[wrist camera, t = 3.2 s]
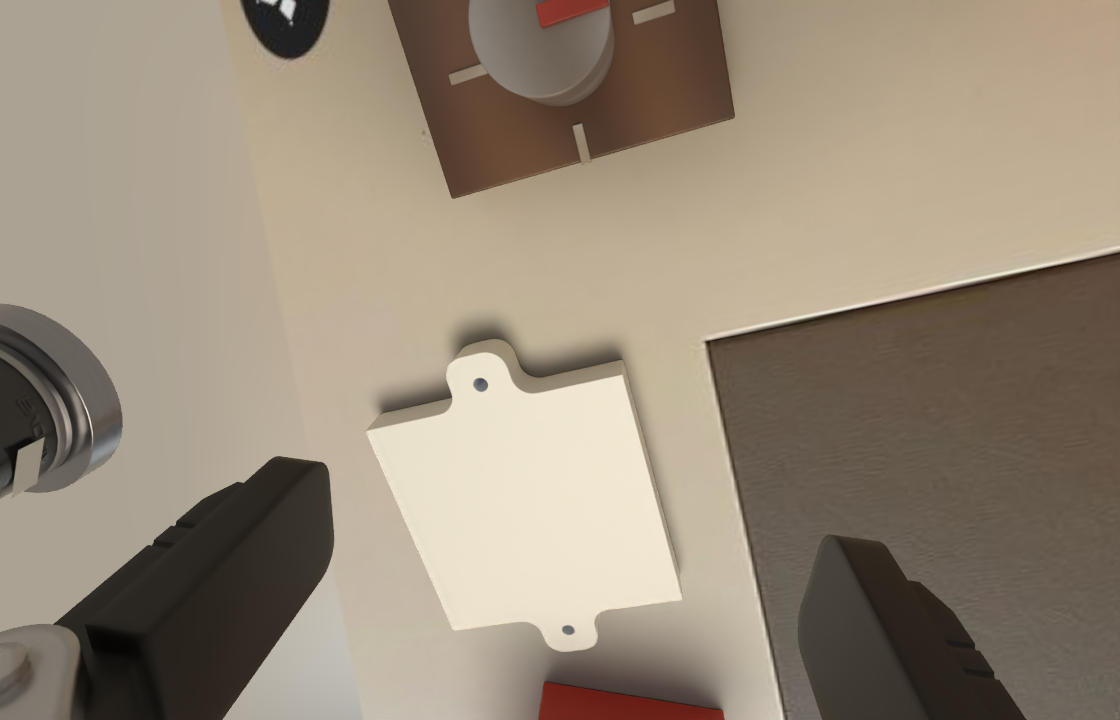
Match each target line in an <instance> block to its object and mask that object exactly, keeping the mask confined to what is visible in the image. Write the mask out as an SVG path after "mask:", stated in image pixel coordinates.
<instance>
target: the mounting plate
mask: <svg viewBox="0 0 1120 720" xmlns="http://www.w3.org/2000/svg"><path fill="white" fill-rule="evenodd" d="M446 378H447V382H448V385H449V388H450V390H451V394H452V398H449V399H444V400H440V401H436V402H431V403H427V404H422V405H418V406H413V407H409V408H404V409H400V410H396V411H391V412H387V413H382V414H380V416H379V417H378V418H377V419H376V420H375V421H374V422H373V423H372V424H371V425H370V426H369V428H368V429H367V430H366V434H367V436H368V438H369V440H370V443H371V445H372V447H373V450H374V452H375V454H376V456H377V459H378V461H379V463H380V465H381V468H382V470H383V472H384V474H385V477H386V479H387V481H388V484H389V486H390V488H391V490H392V493H393V495H394V497H395V499H396V502H397V504H398V506H399V508H400V511H401V513H402V515H403V518H404V520H405V522H406V524H407V527H408V529H409V531H410V533H411V536H412V538H413V540H414V542H415V545H416V547H417V549H418V551H419V554H420V556H421V558H422V561H423V563H424V565H425V567H426V570H427V572H428V574H429V576H430V579H431V581H432V583H433V585H434V588H435V590H436V592H437V595H438V597H439V599H440V601H441V604H442V606H443V608H444V610H445V613H446V615H447V617H448V619H449V622H450V624H451V626H452V629H453V631H454V630H462V629H469V628H477V627H484V626H491V625H499V624H506V623H514V622H529V623H532V624H534V625H535V626H537V627H538V628H539V629H540V630H541V632H542V634H543V637H544V639H545V642H546V643H547V645H548V646H549V647H551V648H552V649H554V650H557V651H561V652H569V651H577V650H585V649H589V648H591V647H593V646H594V645H595V644H596V642H597V639H598V626H599V613H601V612H602V611H605V610H611V609H618V608H626V607H633V606H641V605H648V604H655V603H663V602H670V601H678V600H683V598H682V589H681V580H680V573H679V569H678V565H677V562H676V558H675V554H674V550H673V546H672V543H671V539H670V535H669V531H668V528H667V524H666V520H665V516H664V513H663V509H662V505H661V501H660V497H659V494H658V490H657V486H656V482H655V479H654V475H653V471H652V467H651V464H650V460H649V456H648V452H647V448H646V445H645V441H644V437H643V433H642V430H641V426H640V422H639V418H638V415H637V411H636V407H635V403H634V399H633V396H632V392H631V388H630V384H629V381H628V377H627V373H626V369H625V366H624V362H623V360H618V361H614V362H609V363H605V364H600V365H596V366H591V367H587V368H582V369H578V370H574V371H569V372H565V373H560V374H556V375H551V376H547V377H541V378H537V377H532V376H530V375H528V374H527V373H525V372H524V371H523V370H522V369H521V367H520V365H519V363H518V360H517V357H516V354H515V352H514V349H513V348H512V347H511V346H510V345H509V344H508V343H507V342H505V341H503V340H500V339H489V340H485V341H481V342H477V343H473V344H469V345H467V346H465V347H464V348H463V349H462V350H461V351H460V352H459V353H458V355H457V356H456V357H455V358H454V360H453V361H452V362H451V363H450V365H449V366H448V368H447V371H446Z"/></svg>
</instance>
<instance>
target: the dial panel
mask: <svg viewBox="0 0 1120 720" xmlns="http://www.w3.org/2000/svg"><path fill="white" fill-rule="evenodd" d="M469 2H470V0H388V3H389V6H390V9H391V12H392V16H393V19H394V22H395V25H396V28H397V31H398V34H399V37H400V40H401V43H402V46H403V49H404V53H405V56H406V59H407V62H408V65H409V68H410V71H411V74H412V77H413V80H414V83H415V86H416V90H417V93H418V96H419V99H420V102H421V105H422V108H423V111H424V114H425V117H426V120H427V124H428V127H429V130H430V133H431V136H432V139H433V142H434V145H435V148H436V151H437V154H438V157H439V161H440V164H441V167H442V170H443V173H444V176H445V179H446V182H447V185H448V188H449V191H450V194H451V197H452V198H453V199H454V198H458V197H461V196H465V195H468V194H472V193H475V192H479V191H482V190H486V189H489V188H493V187H496V186H500V185H503V184H507V183H510V182H514V181H517V180H521V179H524V178H528V177H531V176H535V175H538V174H542V173H545V172H549V171H552V170H556V169H559V168H562V167H566V166H569V165H573V164H576V163H580V162H581V163H582V165H583V164H587V163H590V162H591V159H594V158H597V157H601V156H604V155H608V154H611V153H615V152H618V151H622V150H625V149H629V148H632V147H636V146H639V145H643V144H646V143H650V142H653V141H657V140H660V139H664V138H667V137H670V136H674V135H677V134H681V133H684V132H688V131H691V130H695V129H698V128H702V127H705V126H709V125H712V124H716V123H719V122H723V121H726V120H730V119H733V118H734V117H735V113H734V106H733V100H732V94H731V88H730V81H729V75H728V69H727V62H726V56H725V50H724V43H723V37H722V31H721V25H720V18H719V12H718V6H717V0H609V2H610V8H611V15H612V21H613V27H614V34H615V47H614V54H613V59H612V63H611V66H610V68H609V71H608V73H607V75H606V77H605V78H604V80H603V81H602V83H601V84H600V85H599V87H598V88H597V89H596V90H595V91H594V92H593V93H592V94H590V95H589V96H588V97H586V98H585V99H583V100H581V101H579V102H577V103H574V104H572V105H567V106H559V107H556V106H548V105H543V104H540V103H538V102H535V101H533V100H530V99H528V98H525V97H523V96H520V95H518V94H515V93H513V92H511V91H509V90H507V89H505V88H504V87H503V86H501V85H500V84H498V83H497V82H496V81H495V80H494V79H493V78H492V77H491V76H490V75H489V74H488V72H487V71H486V70H485V68H484V67H483V65H482V64H481V62H480V61H479V58H478V56H477V54H476V52H475V49H474V47H473V44H472V40H471V36H470V30H469Z"/></svg>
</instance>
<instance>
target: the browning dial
mask: <svg viewBox="0 0 1120 720" xmlns="http://www.w3.org/2000/svg"><path fill="white" fill-rule="evenodd" d="M469 30H470V36H471V40H472V44H473V47H474V49H475V52H476V54H477V56H478V58H479V61H480V62H481V64H482V65H483V67H484V68H485V70H486V71H487V72H488V74H489V75H490V76H491V77H492V78H493V79H494V80H495V81H496V82H497V83H498V84H500V85H501V86H503V87H504V88H505V89H507V90H509V91H511V92H513V93H515V94H518V95H520V96H523V97H525V98H528V99H530V100H533V101H535V102H538V103H540V104H543V105H548V106H556V107H559V106H567V105H572V104H574V103H577V102H579V101H581V100H583V99H585V98H586V97H588V96H589V95H590V94H592V93H593V92H594V91H595V90H596V89H597V88H598V87H599V85H600V84H601V83H602V81H603V80H604V78H605V77H606V75H607V73H608V71H609V68H610V66H611V63H612V59H613V54H614V47H615V34H614V27H613V21H612V15H611V8H610V2H609V0H470V2H469Z"/></svg>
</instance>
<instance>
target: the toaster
mask: <svg viewBox="0 0 1120 720" xmlns="http://www.w3.org/2000/svg"><path fill="white" fill-rule="evenodd" d="M538 720H725V719H724V713H723V711H721V710H715V709H708V708H702V707H696V706H690V705H684V704H678V703H671V702H665V701H659V700H653V699H647V698H641V697H635V696H628V695H622V694H616V693H610V692H604V691H598V690H591V689H585V688H579V687H573V686H567V685H561V684H554V683H548V682H544V686H543V692H542V698H541V705H540V711H539V717H538Z"/></svg>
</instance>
